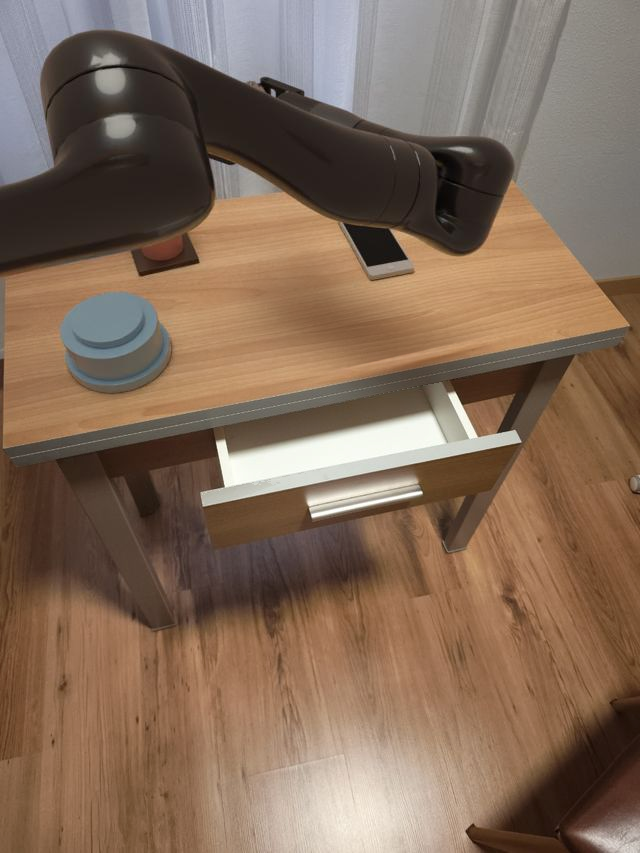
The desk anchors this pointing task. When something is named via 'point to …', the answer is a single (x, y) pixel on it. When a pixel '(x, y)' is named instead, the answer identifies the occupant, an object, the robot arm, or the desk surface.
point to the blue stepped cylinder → (114, 342)
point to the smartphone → (377, 251)
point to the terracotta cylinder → (164, 250)
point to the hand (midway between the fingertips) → (194, 99)
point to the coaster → (153, 266)
